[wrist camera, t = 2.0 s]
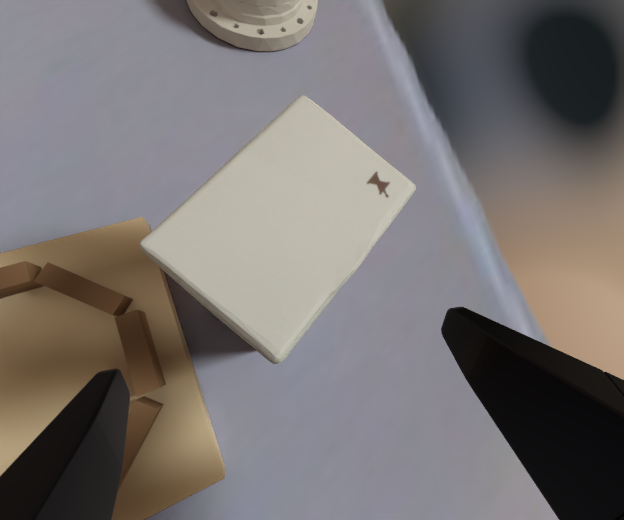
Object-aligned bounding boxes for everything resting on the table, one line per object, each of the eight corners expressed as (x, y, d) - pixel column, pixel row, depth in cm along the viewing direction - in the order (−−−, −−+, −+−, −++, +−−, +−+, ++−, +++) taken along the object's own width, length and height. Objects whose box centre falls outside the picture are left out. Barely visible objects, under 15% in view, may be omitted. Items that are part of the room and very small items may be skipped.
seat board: (225, 468, 16) (222, 489, 14) (-133, 651, 12) (-221, 723, 10) (149, 224, 18) (135, 207, 16) (-173, 309, 14) (-251, 303, 12)
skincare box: (270, 232, 20) (306, 84, 8) (321, 276, 20) (426, 184, 8) (200, 306, 18) (127, 241, 6) (258, 354, 18) (284, 373, 6)
